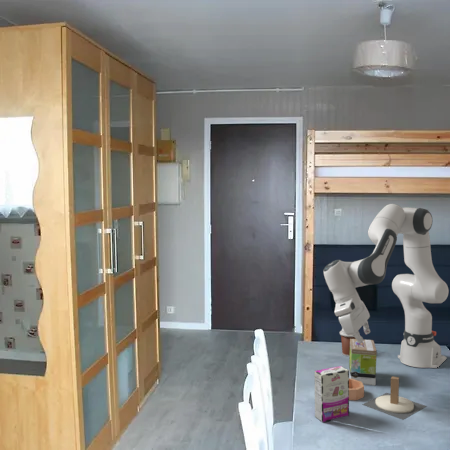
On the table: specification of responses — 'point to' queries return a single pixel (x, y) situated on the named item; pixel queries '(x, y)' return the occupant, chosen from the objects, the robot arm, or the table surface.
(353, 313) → the robot arm
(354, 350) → the tea box
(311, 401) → the table surface
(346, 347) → the coffee cup
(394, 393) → the lid
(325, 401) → the candy bar box
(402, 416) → the mat
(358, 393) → the bowl
